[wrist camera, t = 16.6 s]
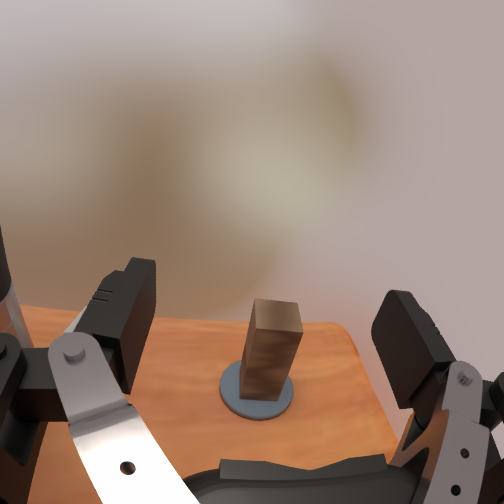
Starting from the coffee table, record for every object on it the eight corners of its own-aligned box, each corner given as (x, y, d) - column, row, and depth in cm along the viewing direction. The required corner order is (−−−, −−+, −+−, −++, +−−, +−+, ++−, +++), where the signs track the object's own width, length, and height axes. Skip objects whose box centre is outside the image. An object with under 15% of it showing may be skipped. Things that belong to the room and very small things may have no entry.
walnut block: (239, 399, 38) (256, 328, 32) (239, 370, 43) (254, 298, 36) (277, 401, 39) (303, 332, 32) (274, 373, 43) (297, 302, 37)
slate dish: (231, 426, 35) (232, 422, 35) (211, 368, 43) (212, 363, 43) (302, 411, 39) (304, 406, 38) (275, 359, 47) (277, 354, 46)
